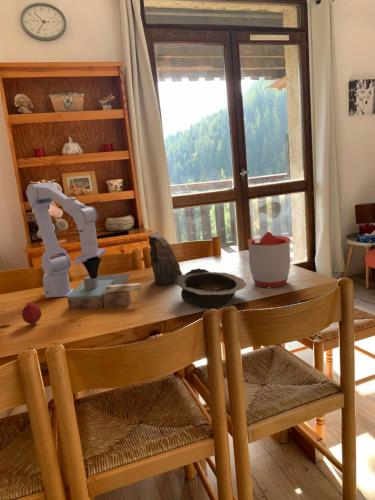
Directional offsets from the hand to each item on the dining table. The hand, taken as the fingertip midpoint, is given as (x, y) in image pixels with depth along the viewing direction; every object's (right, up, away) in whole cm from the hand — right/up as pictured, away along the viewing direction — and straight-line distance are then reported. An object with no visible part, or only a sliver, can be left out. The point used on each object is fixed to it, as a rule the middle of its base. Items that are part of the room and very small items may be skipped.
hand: (93, 277), depth 142 cm
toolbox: (+3, -8, +4) cm, 10 cm away
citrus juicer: (+65, -3, +8) cm, 66 cm away
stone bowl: (+42, -8, -5) cm, 43 cm away
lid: (-1, -5, +3) cm, 6 cm away
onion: (-16, -14, -14) cm, 26 cm away
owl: (+26, -3, +20) cm, 33 cm away
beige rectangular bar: (+12, -4, -4) cm, 13 cm away
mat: (0, -4, +25) cm, 26 cm away
